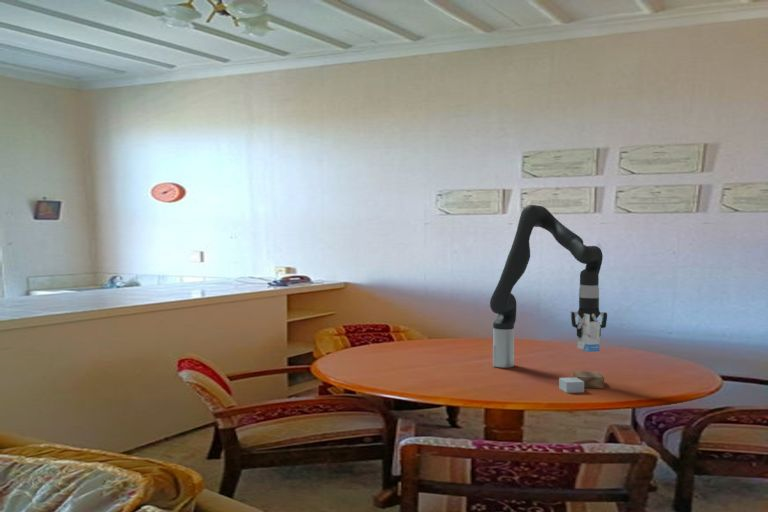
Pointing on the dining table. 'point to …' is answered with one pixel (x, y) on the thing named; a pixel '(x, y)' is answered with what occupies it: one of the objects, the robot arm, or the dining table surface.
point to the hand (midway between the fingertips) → (588, 337)
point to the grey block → (571, 385)
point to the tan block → (590, 378)
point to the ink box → (589, 335)
